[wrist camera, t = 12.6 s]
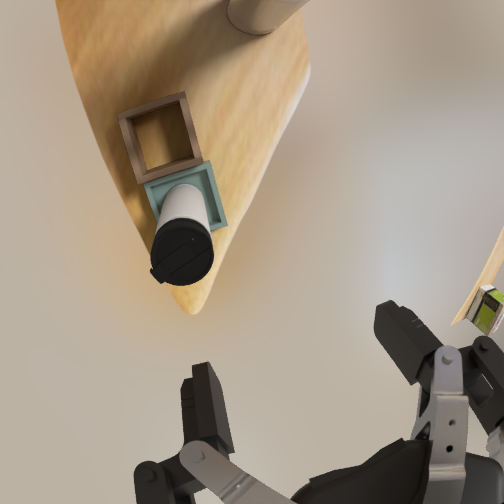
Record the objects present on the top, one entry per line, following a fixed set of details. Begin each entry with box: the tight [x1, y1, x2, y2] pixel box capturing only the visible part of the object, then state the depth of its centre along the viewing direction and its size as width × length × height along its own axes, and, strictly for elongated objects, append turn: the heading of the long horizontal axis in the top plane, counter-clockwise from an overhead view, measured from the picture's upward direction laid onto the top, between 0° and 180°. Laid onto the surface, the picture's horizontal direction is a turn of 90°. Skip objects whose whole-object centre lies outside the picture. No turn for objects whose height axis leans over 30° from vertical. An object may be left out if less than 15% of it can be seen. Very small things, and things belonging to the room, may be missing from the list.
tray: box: [143, 160, 228, 231], centre depth 42 cm, size 11×11×2 cm
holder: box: [117, 91, 204, 185], centre depth 36 cm, size 11×10×5 cm
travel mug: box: [150, 183, 214, 286], centre depth 34 cm, size 6×7×20 cm
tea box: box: [466, 284, 504, 336], centre depth 76 cm, size 15×10×15 cm, turn 176°
